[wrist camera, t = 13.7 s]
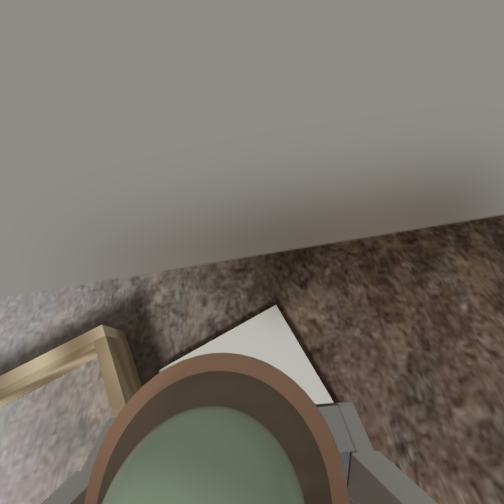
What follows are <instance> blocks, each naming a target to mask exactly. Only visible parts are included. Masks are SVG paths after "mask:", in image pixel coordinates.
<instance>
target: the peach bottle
mask: <svg viewBox="0 0 504 504" xmlns="http://www.w3.org/2000/svg"><path fill="white" fill-rule="evenodd" d="M84 504H349V494H348V487H347V481H346V475H345V471H344V467H343V463H342V459H341V455H340V453H339V450H338V447H337V445H336V442H335V439H334V437H333V434H332V432H331V430H330V428H329V426H328V424H327V422H326V420H325V419H324V417H323V415H322V414H321V412H320V411H319V409H318V408H317V406H316V404H315V403H314V402H313V401H312V400H311V398H310V397H309V396H308V395H307V393H306V392H305V391H304V390H303V389H302V388H301V387H300V386H299V385H298V384H297V383H296V382H295V381H294V380H293V379H291V378H290V377H289V376H287V375H286V374H285V373H283V372H282V371H281V370H279V369H277V368H275V367H274V366H272V365H270V364H268V363H266V362H264V361H261V360H259V359H256V358H254V357H250V356H246V355H242V354H235V353H209V354H204V355H198V356H195V357H192V358H188V359H185V360H182V361H180V362H178V363H176V364H174V365H172V366H170V367H168V368H166V369H165V370H163V371H162V372H160V373H159V374H157V375H156V376H154V377H153V378H152V379H151V380H149V381H148V382H147V383H146V384H145V385H143V386H142V387H141V388H140V389H139V390H138V391H137V392H136V393H135V394H134V395H133V396H132V398H131V399H130V400H129V401H128V402H127V404H126V405H125V406H124V408H123V409H122V410H121V411H120V413H119V414H118V416H117V417H116V419H115V421H114V422H113V424H112V425H111V427H110V428H109V430H108V432H107V434H106V436H105V438H104V440H103V442H102V444H101V447H100V449H99V452H98V454H97V457H96V460H95V462H94V465H93V468H92V472H91V475H90V479H89V483H88V486H87V491H86V497H85V503H84Z"/></svg>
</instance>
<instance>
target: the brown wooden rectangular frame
mask: <svg viewBox="0 0 504 504" xmlns="http://www.w3.org/2000/svg"><path fill="white" fill-rule="evenodd" d="M96 357H98V361H99V364H100V368H101V372H102V375H103V379H104V382H105V386H106V390H107V393H108V397H109V401H110V404H111V408H112V411H113V415H114V418H116V417H117V416H118V414H119V413H120V411H121V410H122V409H123V408H124V406H125V405H126V404H127V402H128V401H129V400H130V399H131V398H132V396H133V395H134V394H135V393H136V392H137V391H138V390H139V389H140V388H141V387H142V384H141V380H140V377H139V374H138V371H137V368H136V365H135V362H134V359H133V356H132V353H131V350H130V347H129V344H128V341H127V338H126V335H125V332H124V331H121V330H118V329H115V328H112V327H108V326H105V325H100V326H98V327H96V328H94V329H92V330H90V331H88V332H86V333H84V334H82V335H80V336H78V337H76V338H74V339H72V340H70V341H68V342H66V343H64V344H63V345H61V346H59V347H57V348H55V349H53V350H51V351H49V352H47V353H45V354H43V355H41V356H39V357H37V358H35V359H33V360H31V361H29V362H27V363H25V364H23V365H21V366H19V367H17V368H15V369H13V370H11V371H9V372H7V373H5V374H3V375H1V376H0V408H1V407H3V406H5V405H7V404H9V403H11V402H12V401H14V400H16V399H18V398H20V397H22V396H24V395H26V394H28V393H30V392H31V391H33V390H35V389H37V388H39V387H41V386H43V385H45V384H47V383H49V382H50V381H52V380H54V379H56V378H58V377H60V376H62V375H64V374H66V373H68V372H69V371H71V370H73V369H75V368H77V367H79V366H81V365H83V364H85V363H87V362H88V361H90V360H92V359H94V358H96Z"/></svg>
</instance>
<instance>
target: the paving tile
mask: <svg viewBox="0 0 504 504" xmlns="http://www.w3.org/2000/svg"><path fill="white" fill-rule="evenodd" d="M209 353H235V354H242V355H246V356H250V357H254V358H256V359H259V360H261V361H264V362H266V363H268V364H270V365H272V366H274V367H275V368H277V369H279V370H281V371H282V372H283V373H285V374H286V375H287V376H289V377H290V378H291V379H293V380H294V381H295V382H296V383H297V384H298V385H299V386H300V387H301V388H302V389H303V390H304V391H305V392H306V393H307V395H308V396H309V397H310V398H311V400H312V401H313V402H314V403H315V404H325V403H334V402H333V400H332V399H331V397H330V395H329V394H328V392H327V390H326V388H325V387H324V385H323V383H322V382H321V380H320V378H319V377H318V375H317V373H316V372H315V370H314V368H313V366H312V365H311V363H310V361H309V360H308V358H307V356H306V355H305V353H304V351H303V350H302V348H301V346H300V344H299V343H298V341H297V339H296V338H295V336H294V334H293V333H292V331H291V329H290V328H289V326H288V324H287V322H286V321H285V319H284V317H283V316H282V314H281V312H280V311H279V309H278V307H277V306H276V305H275V306H273V307H271V308H269V309H267V310H266V311H264V312H262V313H260V314H259V315H257V316H255V317H253V318H251V319H250V320H248V321H246V322H244V323H242V324H241V325H239V326H237V327H235V328H233V329H232V330H230V331H228V332H226V333H224V334H223V335H221V336H219V337H217V338H216V339H214V340H212V341H210V342H208V343H207V344H205V345H203V346H201V347H199V348H198V349H196V350H194V351H192V352H190V353H189V354H187V355H185V356H183V357H181V358H180V359H178V360H176V361H174V362H173V363H171V364H169V365H167V366H165V367H164V368H162V369H160V370H159V372H162V371H163V370H165V369H166V368H168V367H170V366H172V365H174V364H176V363H178V362H180V361H182V360H185V359H188V358H192V357H195V356H198V355H204V354H209Z"/></svg>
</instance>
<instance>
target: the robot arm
mask: <svg viewBox="0 0 504 504" xmlns="http://www.w3.org/2000/svg"><path fill="white" fill-rule="evenodd" d="M316 406H317V408H318V409H319V411H320V412H321V414H322V415H323V417H324V419H325V420H326V422H327V424H328V426H329V428H330V430H331V432H332V434H333V437H334V439H335V442H336V445H337V447H338V450H339V453H340V455H341V459H342V463H343V467H344V471H345V475H346V481H347V487H348V494H349V497H350V498H351V500H352V501H353V502H354V503H355V504H438V503H437V502H435V501H434V500H433V499H432V498H431V497H430V496H429V495H428V494H426V493H425V492H424V491H423V490H422V489H421V488H420V487H419V486H418V485H416V484H415V483H414V482H413V481H412V480H411V479H410V478H409V477H408V476H406V475H405V474H404V473H403V472H402V471H401V470H400V469H399V468H398V467H396V466H395V465H394V464H393V463H392V462H391V461H390V460H389V459H387V458H386V457H385V456H384V455H383V454H382V453H381V452H380V451H374V449H373V447H372V445H371V443H370V440H369V438H368V436H367V434H366V431H365V429H364V427H363V425H362V422H361V420H360V418H359V415H358V413H357V411H356V409H355V406H354V404H353V403H352V402H343V403H325V404H316ZM115 419H116V418H110V419H109V420H108V421H107V422H106V424H105V425H104V427H103V429H102V431H101V433H100V435H99V437H98V439H97V441H96V443H95V445H94V447H93V449H92V451H91V453H90V454H89V456H88V458H87V460H86V462H85V464H84V466H83V468H82V470H81V472H75V473H74V474H73V475H72V476H71V477H70V478H69V479H68V480H67V481H66V482H65V483H64V484H62V485H61V486H60V487H59V488H58V489H57V490H56V491H55V492H54V493H53V494H52V495H50V496H49V497H48V498H47V499H46V500H45V501H44V502H43V503H42V504H84V503H85V497H86V491H87V486H88V483H89V479H90V475H91V472H92V468H93V465H94V462H95V460H96V457H97V454H98V452H99V449H100V447H101V444H102V442H103V440H104V438H105V436H106V434H107V432H108V430H109V428H110V427H111V425H112V424H113V422H114V421H115Z"/></svg>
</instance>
